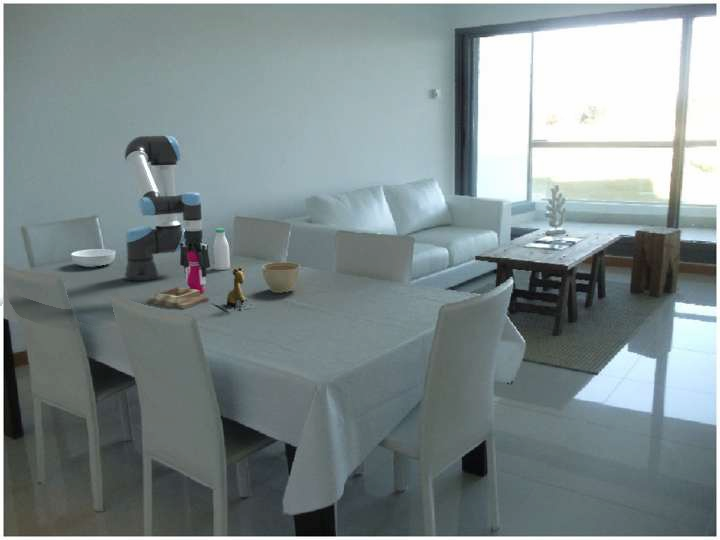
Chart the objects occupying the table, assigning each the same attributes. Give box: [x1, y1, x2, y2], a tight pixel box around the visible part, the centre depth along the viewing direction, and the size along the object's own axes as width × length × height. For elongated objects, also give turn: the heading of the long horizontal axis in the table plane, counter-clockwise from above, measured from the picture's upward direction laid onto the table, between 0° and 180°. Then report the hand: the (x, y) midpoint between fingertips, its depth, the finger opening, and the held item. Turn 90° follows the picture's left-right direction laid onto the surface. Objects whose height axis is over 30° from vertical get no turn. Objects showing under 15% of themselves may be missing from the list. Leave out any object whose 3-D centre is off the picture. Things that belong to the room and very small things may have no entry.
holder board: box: [146, 286, 210, 310], centre depth 273 cm, size 20×14×4 cm
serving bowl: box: [70, 248, 116, 268], centre depth 342 cm, size 21×21×7 cm
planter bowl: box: [261, 261, 301, 294], centre depth 290 cm, size 16×16×11 cm
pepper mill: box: [186, 251, 205, 294], centre depth 286 cm, size 7×7×20 cm
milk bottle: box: [212, 227, 231, 271], centre depth 333 cm, size 8×8×20 cm
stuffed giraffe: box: [213, 267, 254, 312], centre depth 268 cm, size 16×18×16 cm
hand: (196, 283), depth 287 cm, fingers closed on pepper mill, 7 cm apart
